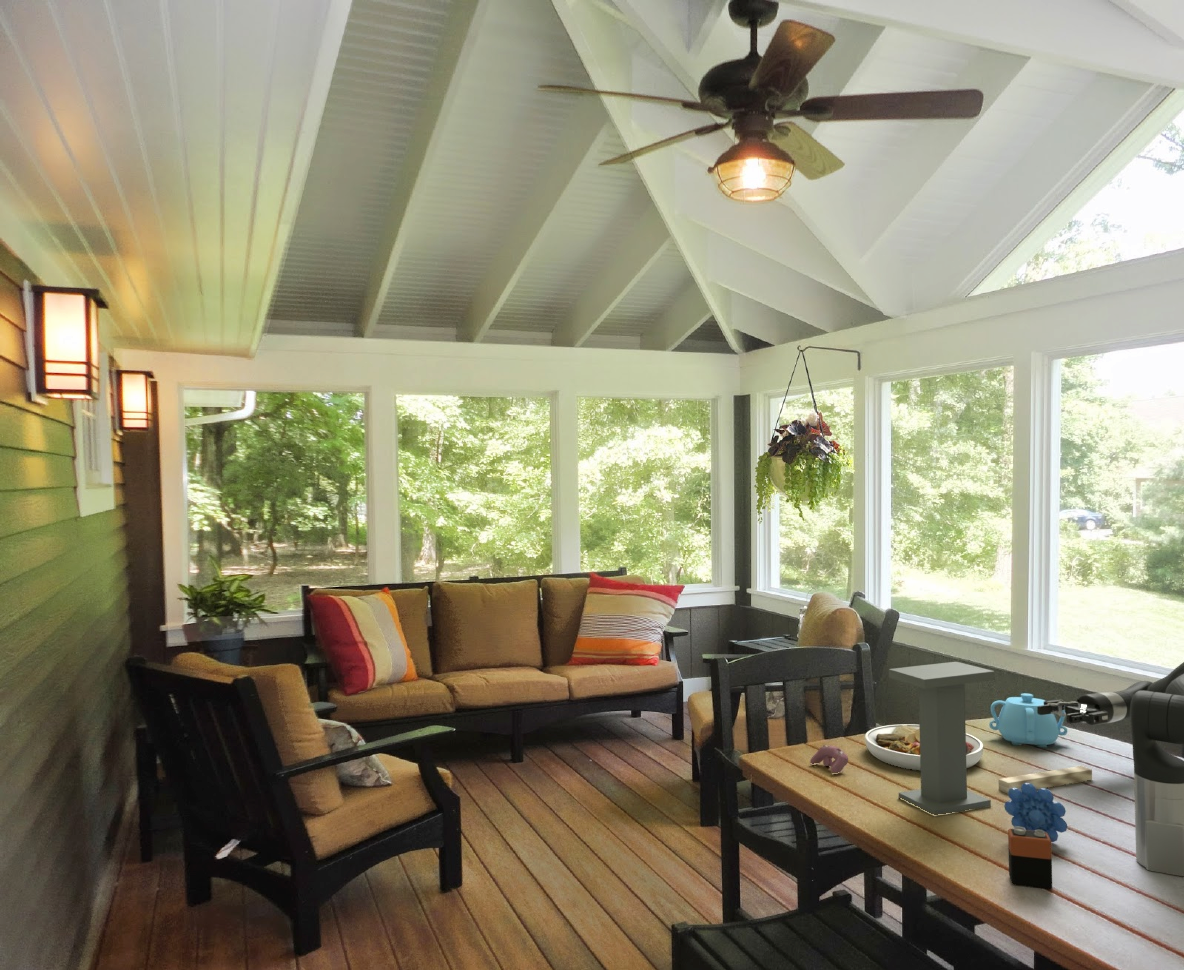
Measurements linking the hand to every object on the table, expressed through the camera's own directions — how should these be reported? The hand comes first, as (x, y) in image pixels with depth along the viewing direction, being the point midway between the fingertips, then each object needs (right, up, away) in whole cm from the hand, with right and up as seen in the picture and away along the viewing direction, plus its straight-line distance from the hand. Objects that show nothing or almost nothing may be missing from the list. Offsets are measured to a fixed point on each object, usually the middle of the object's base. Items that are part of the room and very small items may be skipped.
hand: (1052, 714), depth 212 cm
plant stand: (-32, -17, -12) cm, 38 cm away
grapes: (-22, -17, -35) cm, 45 cm away
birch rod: (-3, -17, -2) cm, 17 cm away
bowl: (-24, -18, +22) cm, 37 cm away
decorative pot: (+11, -17, +33) cm, 39 cm away
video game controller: (-51, -18, +14) cm, 56 cm away
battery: (-32, -18, -52) cm, 64 cm away
